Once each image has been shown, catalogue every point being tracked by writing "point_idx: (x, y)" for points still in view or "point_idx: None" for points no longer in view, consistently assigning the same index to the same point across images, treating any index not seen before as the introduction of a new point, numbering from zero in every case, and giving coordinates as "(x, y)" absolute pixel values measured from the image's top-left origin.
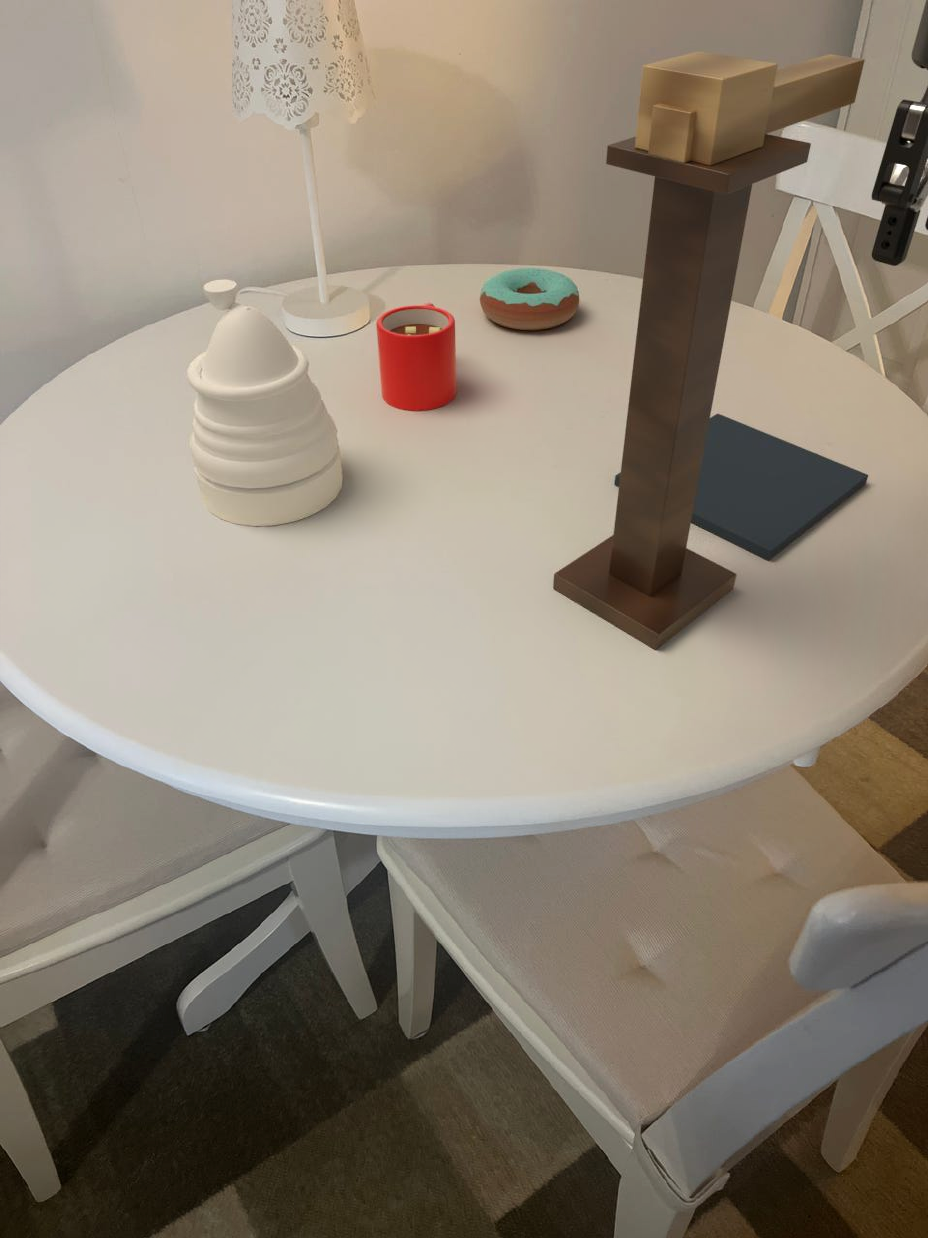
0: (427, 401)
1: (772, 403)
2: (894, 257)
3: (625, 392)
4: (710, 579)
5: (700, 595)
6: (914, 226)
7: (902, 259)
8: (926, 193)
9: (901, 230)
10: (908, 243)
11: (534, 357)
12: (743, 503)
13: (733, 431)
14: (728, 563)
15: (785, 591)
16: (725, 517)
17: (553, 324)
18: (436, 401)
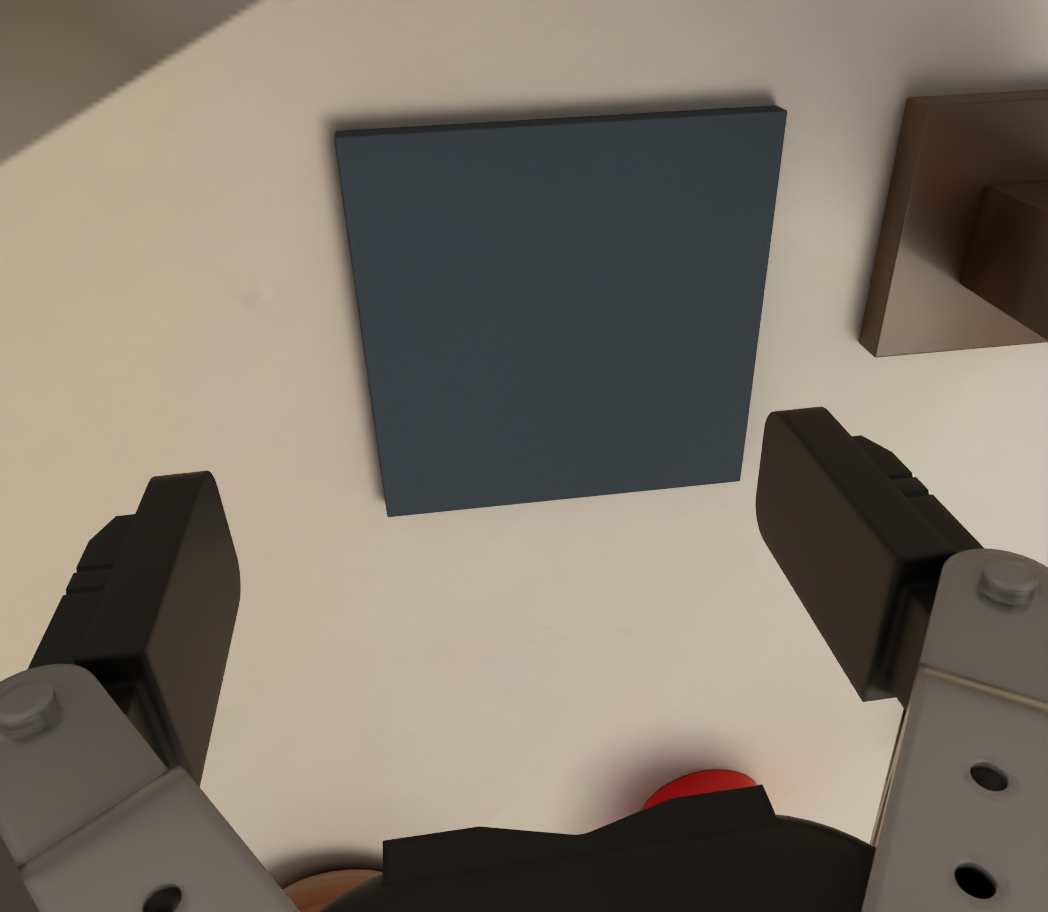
0: (741, 785)
1: None
2: (854, 438)
3: (436, 664)
4: (973, 132)
5: (1031, 112)
6: (870, 502)
7: (825, 411)
8: (979, 620)
9: (945, 513)
10: (836, 453)
11: (464, 812)
12: (662, 263)
13: (427, 452)
14: (832, 160)
15: (852, 9)
16: (734, 256)
17: (362, 872)
18: (726, 780)
